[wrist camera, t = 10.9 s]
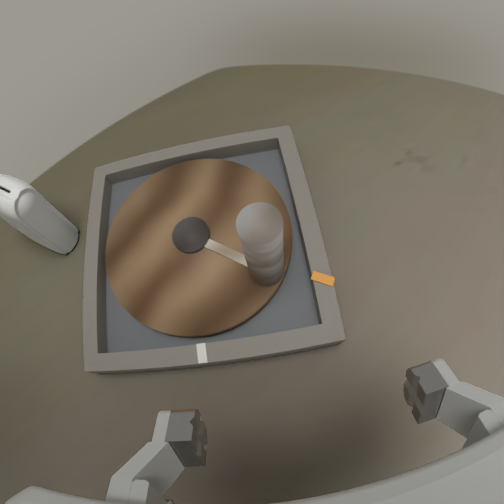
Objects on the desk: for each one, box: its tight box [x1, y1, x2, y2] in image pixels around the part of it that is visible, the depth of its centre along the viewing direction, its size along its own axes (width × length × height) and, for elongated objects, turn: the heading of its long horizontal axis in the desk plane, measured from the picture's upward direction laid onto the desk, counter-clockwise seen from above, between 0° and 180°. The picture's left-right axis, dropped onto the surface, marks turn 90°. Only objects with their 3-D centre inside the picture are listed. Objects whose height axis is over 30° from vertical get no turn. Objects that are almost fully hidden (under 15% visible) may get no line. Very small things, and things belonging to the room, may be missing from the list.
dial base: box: [83, 125, 346, 374], centre depth 32 cm, size 24×24×3 cm
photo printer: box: [0, 174, 79, 254], centre depth 31 cm, size 10×4×12 cm, turn 69°
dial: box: [105, 159, 292, 338], centre depth 28 cm, size 19×19×11 cm
